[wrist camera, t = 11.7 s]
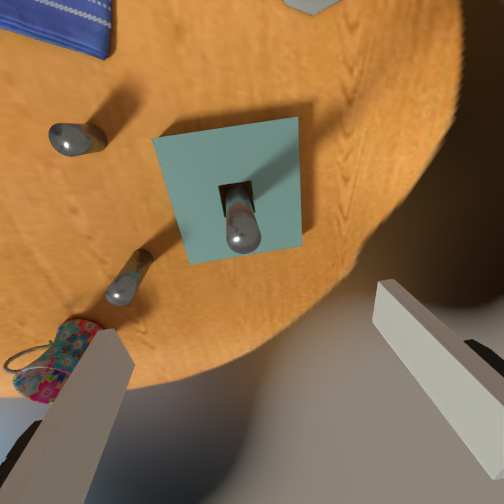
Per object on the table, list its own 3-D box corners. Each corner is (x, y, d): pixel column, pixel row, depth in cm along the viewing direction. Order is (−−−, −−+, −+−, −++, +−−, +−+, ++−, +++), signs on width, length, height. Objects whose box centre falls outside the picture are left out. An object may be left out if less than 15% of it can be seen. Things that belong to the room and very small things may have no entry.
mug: (114, 320, 44) (85, 372, 35) (108, 353, 48) (80, 407, 39) (41, 305, 41) (-13, 358, 32) (40, 342, 45) (-9, 398, 35)
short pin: (74, 126, 29) (42, 125, 24) (100, 122, 29) (73, 121, 24) (86, 153, 31) (58, 158, 26) (111, 149, 31) (88, 154, 26)
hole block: (157, 137, 31) (151, 138, 28) (292, 117, 31) (298, 116, 29) (192, 255, 39) (190, 264, 37) (297, 238, 40) (302, 245, 37)
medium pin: (129, 251, 38) (100, 288, 29) (149, 247, 38) (126, 284, 29) (136, 267, 39) (111, 307, 31) (155, 264, 40) (135, 303, 31)
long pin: (224, 185, 35) (223, 225, 21) (245, 182, 35) (259, 219, 21) (227, 206, 36) (229, 256, 22) (248, 203, 36) (263, 250, 22)
